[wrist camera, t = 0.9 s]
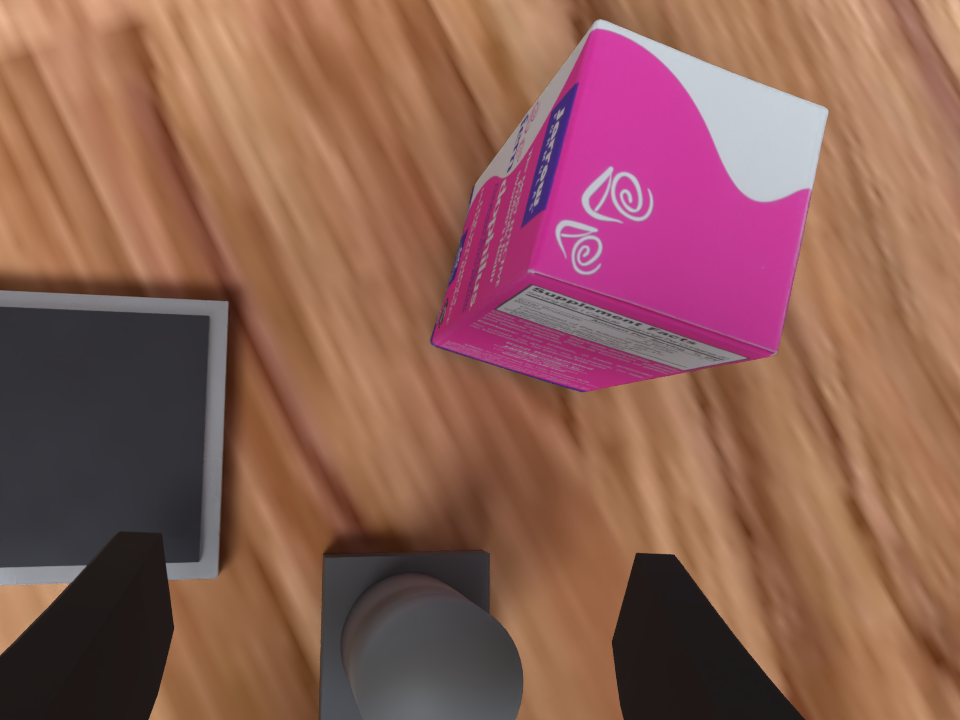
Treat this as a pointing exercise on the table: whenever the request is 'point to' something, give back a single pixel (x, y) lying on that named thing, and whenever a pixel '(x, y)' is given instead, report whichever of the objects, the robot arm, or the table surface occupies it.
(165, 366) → the ink pad
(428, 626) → the stamp
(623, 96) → the supplement box
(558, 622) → the table surface
